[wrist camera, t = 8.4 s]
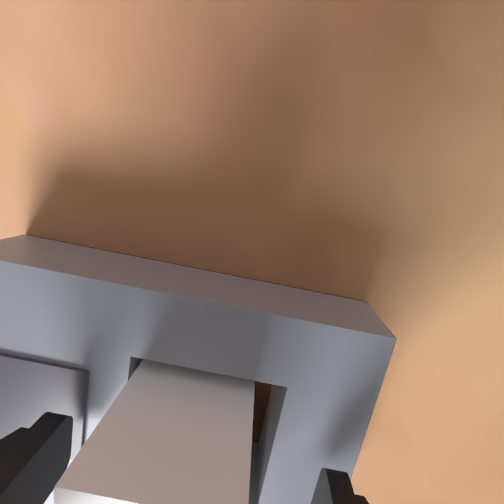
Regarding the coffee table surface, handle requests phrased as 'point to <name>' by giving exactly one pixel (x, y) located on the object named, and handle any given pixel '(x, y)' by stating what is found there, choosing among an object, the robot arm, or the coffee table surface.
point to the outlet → (188, 351)
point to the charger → (167, 442)
